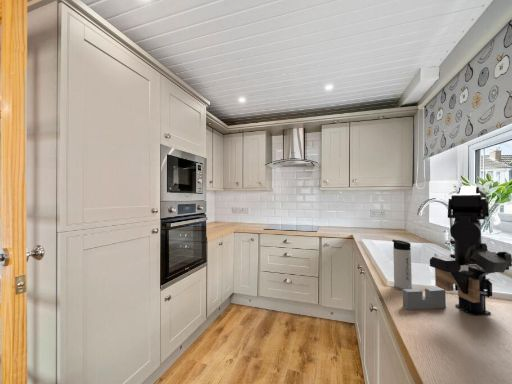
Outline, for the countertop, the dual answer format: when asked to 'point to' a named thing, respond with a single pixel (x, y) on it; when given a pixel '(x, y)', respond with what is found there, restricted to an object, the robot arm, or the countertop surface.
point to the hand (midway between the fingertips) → (468, 293)
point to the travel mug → (402, 265)
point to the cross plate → (447, 281)
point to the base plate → (424, 298)
